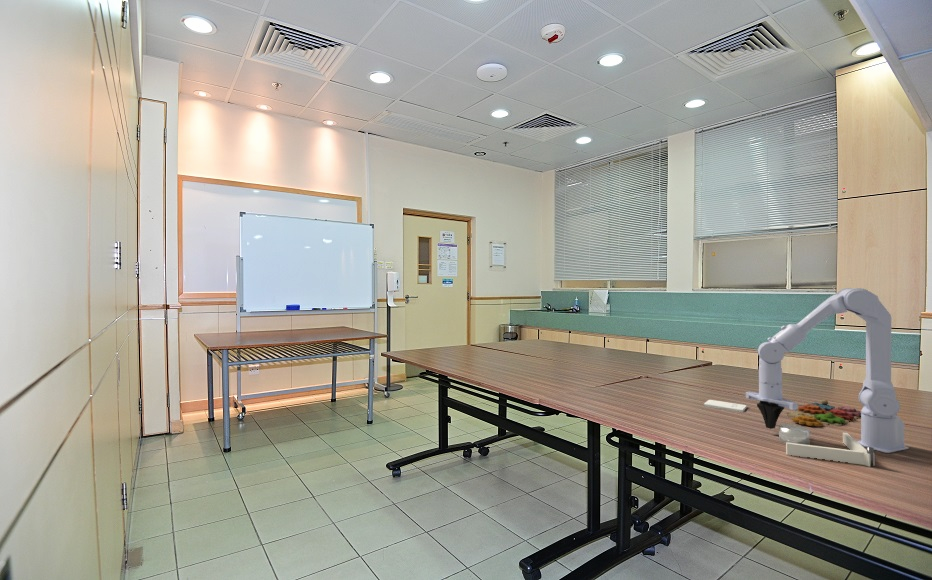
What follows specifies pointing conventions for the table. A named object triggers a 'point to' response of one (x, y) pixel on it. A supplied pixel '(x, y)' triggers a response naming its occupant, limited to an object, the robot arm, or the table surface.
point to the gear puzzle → (823, 414)
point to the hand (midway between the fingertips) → (770, 427)
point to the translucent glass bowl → (794, 434)
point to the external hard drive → (725, 405)
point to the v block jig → (835, 452)
